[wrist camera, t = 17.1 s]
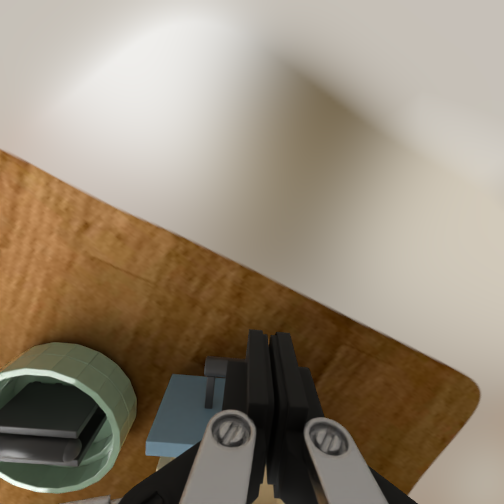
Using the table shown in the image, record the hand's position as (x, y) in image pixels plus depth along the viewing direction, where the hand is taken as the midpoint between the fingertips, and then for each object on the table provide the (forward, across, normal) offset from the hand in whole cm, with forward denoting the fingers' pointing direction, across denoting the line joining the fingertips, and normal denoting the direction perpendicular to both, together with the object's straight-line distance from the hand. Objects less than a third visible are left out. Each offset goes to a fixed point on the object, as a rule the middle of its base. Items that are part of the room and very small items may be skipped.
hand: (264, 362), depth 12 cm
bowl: (+12, +16, +14) cm, 25 cm away
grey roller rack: (+12, +16, +14) cm, 24 cm away
